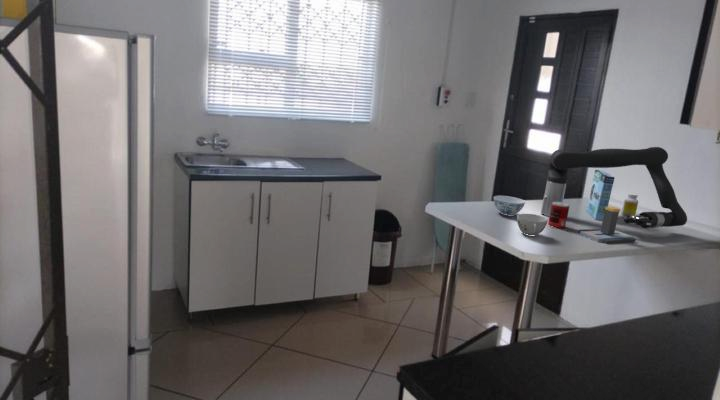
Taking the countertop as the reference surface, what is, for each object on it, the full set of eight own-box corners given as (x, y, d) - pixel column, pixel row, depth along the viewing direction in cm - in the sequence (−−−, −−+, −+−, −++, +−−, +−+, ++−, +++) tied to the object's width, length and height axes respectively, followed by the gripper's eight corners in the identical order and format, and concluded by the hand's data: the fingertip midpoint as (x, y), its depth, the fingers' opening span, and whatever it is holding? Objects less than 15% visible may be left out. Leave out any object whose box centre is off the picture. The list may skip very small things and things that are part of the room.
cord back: (606, 231, 243) (607, 228, 243) (608, 232, 242) (609, 229, 242) (578, 232, 236) (578, 229, 235) (580, 233, 234) (581, 230, 234)
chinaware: (485, 212, 256) (487, 197, 254) (502, 209, 266) (504, 194, 264) (511, 220, 246) (514, 204, 244) (528, 216, 256) (531, 201, 254)
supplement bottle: (636, 220, 273) (641, 196, 269) (622, 218, 274) (628, 194, 271) (632, 216, 279) (637, 193, 276) (619, 215, 280) (624, 192, 277)
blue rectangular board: (614, 232, 242) (614, 229, 241) (632, 239, 233) (633, 236, 232) (579, 234, 232) (580, 231, 232) (597, 241, 224) (598, 238, 223)
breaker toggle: (606, 231, 235) (612, 206, 232) (614, 234, 231) (620, 209, 228) (600, 231, 233) (605, 206, 230) (607, 234, 229) (613, 209, 227)
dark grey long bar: (632, 241, 231) (633, 238, 230) (635, 242, 230) (635, 239, 229) (603, 242, 223) (604, 239, 223) (606, 243, 222) (606, 240, 222)
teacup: (512, 228, 231) (515, 211, 229) (541, 232, 230) (544, 215, 228) (517, 238, 217) (520, 220, 215) (548, 242, 215) (551, 224, 213)
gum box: (585, 210, 282) (594, 169, 277) (595, 212, 282) (604, 170, 276) (594, 219, 264) (604, 175, 258) (605, 221, 263) (615, 177, 258)
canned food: (564, 225, 246) (569, 203, 243) (565, 229, 238) (570, 206, 236) (547, 222, 248) (552, 200, 245) (547, 226, 241) (552, 203, 238)
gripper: (640, 208, 247) (614, 208, 240) (666, 216, 235) (639, 216, 228) (636, 223, 249) (611, 224, 242) (662, 231, 237) (636, 233, 230)
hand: (625, 220), depth 235 cm, fingers closed
